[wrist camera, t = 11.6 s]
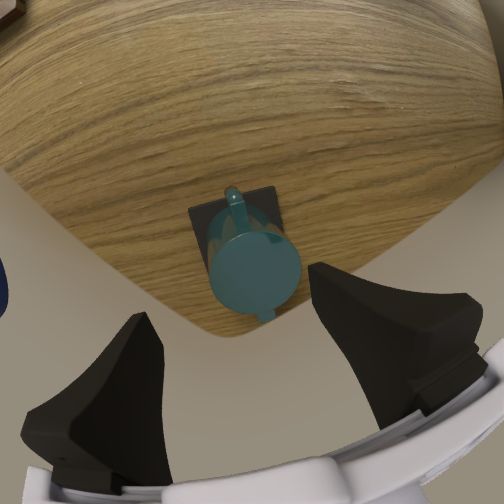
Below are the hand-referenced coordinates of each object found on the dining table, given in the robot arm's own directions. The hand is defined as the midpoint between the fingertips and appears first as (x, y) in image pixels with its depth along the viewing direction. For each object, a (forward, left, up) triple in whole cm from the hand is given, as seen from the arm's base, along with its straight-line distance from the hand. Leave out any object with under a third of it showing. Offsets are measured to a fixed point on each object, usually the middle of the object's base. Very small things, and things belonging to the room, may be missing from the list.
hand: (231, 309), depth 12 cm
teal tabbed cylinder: (+2, -1, -10) cm, 10 cm away
